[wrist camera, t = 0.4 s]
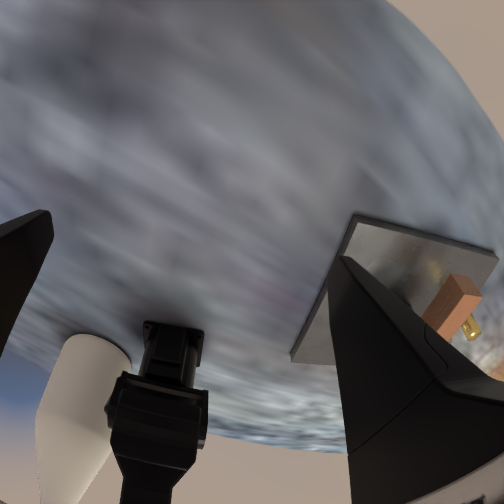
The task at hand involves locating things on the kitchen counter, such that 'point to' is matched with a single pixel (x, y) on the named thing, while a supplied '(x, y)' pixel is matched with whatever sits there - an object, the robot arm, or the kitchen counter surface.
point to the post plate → (396, 276)
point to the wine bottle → (76, 417)
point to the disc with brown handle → (452, 305)
